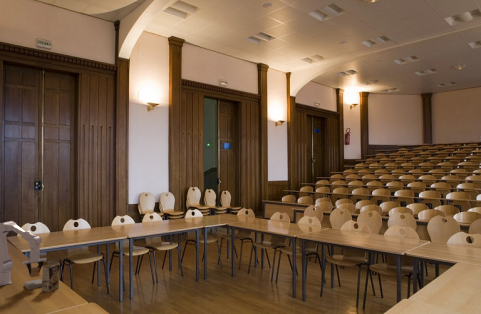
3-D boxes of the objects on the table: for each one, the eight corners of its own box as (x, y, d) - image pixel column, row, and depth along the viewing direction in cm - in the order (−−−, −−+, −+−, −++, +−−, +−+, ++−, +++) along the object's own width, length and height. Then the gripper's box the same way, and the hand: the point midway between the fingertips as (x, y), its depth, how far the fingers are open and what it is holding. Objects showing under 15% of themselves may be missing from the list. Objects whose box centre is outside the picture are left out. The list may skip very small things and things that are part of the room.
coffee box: (49, 292, 237) (50, 268, 238) (41, 291, 239) (42, 267, 239) (59, 287, 246) (59, 264, 247) (51, 286, 248) (51, 263, 248)
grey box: (24, 286, 249) (24, 282, 249) (40, 283, 255) (40, 278, 255) (27, 290, 241) (27, 285, 241) (44, 286, 248) (44, 282, 248)
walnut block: (29, 275, 249) (29, 267, 249) (37, 274, 252) (37, 265, 252) (31, 277, 245) (31, 268, 245) (39, 275, 248) (39, 267, 249)
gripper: (24, 256, 241) (23, 276, 241) (47, 253, 251) (47, 272, 250) (22, 254, 246) (21, 274, 246) (45, 251, 256) (44, 270, 256)
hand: (34, 273), depth 248 cm, fingers closed on walnut block, 5 cm apart
